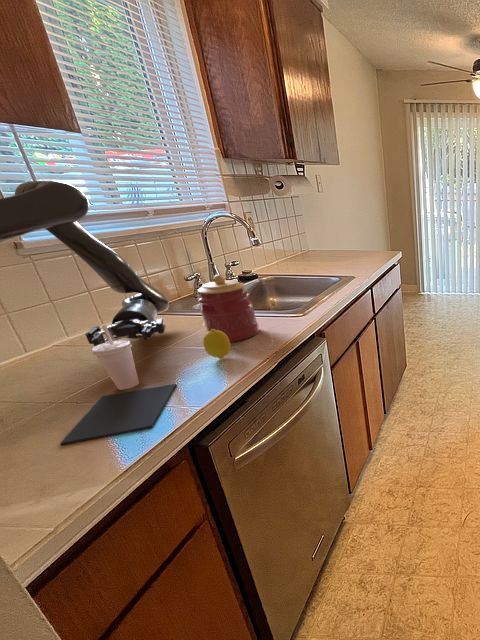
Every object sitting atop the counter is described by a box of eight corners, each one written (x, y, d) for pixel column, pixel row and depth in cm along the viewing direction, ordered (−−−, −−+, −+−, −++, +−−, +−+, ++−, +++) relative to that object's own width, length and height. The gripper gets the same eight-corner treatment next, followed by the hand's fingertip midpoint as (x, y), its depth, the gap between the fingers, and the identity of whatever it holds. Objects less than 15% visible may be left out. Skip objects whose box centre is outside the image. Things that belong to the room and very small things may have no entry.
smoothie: (150, 377, 92) (127, 319, 86) (140, 389, 87) (115, 328, 81) (116, 381, 90) (90, 323, 84) (104, 395, 85) (75, 333, 79)
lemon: (223, 364, 98) (214, 333, 95) (203, 362, 99) (193, 332, 96) (239, 355, 103) (230, 325, 100) (220, 353, 104) (211, 325, 101)
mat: (61, 445, 68) (59, 443, 68) (103, 397, 83) (102, 395, 83) (152, 428, 73) (151, 425, 73) (176, 385, 88) (176, 383, 88)
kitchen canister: (198, 342, 112) (177, 279, 104) (232, 326, 123) (215, 269, 116) (238, 344, 110) (220, 281, 102) (269, 328, 121) (255, 270, 114)
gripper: (93, 310, 99) (73, 329, 86) (163, 302, 106) (154, 318, 93) (106, 338, 102) (87, 361, 90) (173, 328, 109) (165, 348, 96)
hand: (121, 339), depth 91 cm, fingers open, 8 cm apart
